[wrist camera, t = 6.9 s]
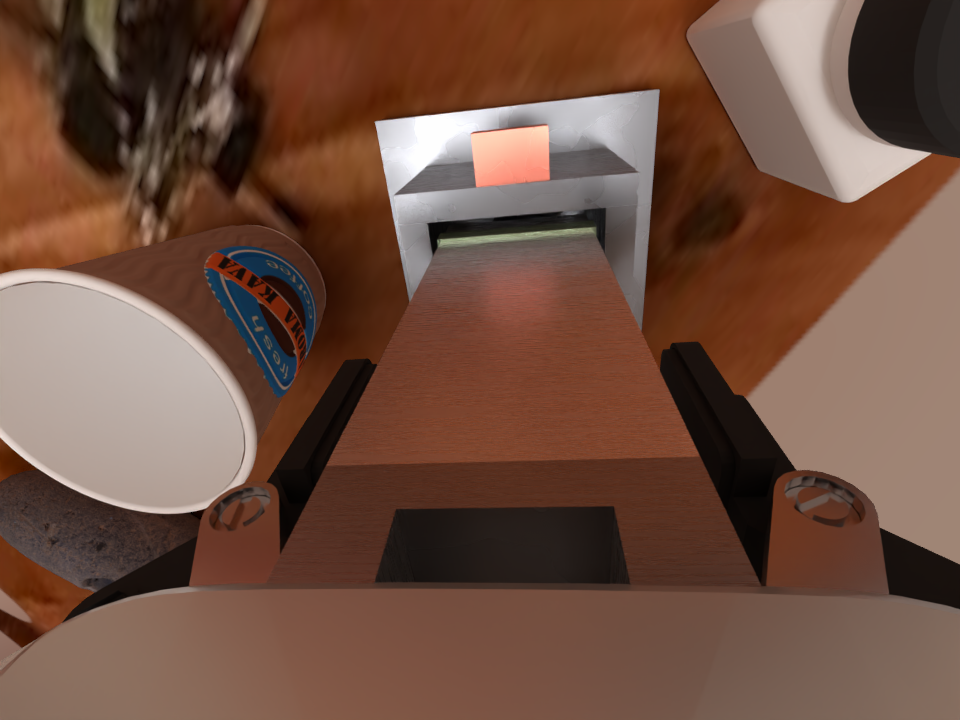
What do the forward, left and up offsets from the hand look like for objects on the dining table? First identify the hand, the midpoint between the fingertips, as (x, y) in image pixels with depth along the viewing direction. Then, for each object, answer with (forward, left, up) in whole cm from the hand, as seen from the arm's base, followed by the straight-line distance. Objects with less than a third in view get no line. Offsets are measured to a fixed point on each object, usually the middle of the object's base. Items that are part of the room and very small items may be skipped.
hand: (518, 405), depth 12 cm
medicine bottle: (+7, -12, -15) cm, 20 cm away
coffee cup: (-2, +14, -15) cm, 21 cm away
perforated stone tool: (-18, +31, -15) cm, 39 cm away
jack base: (0, 0, -15) cm, 15 cm away
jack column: (0, 0, -8) cm, 8 cm away
